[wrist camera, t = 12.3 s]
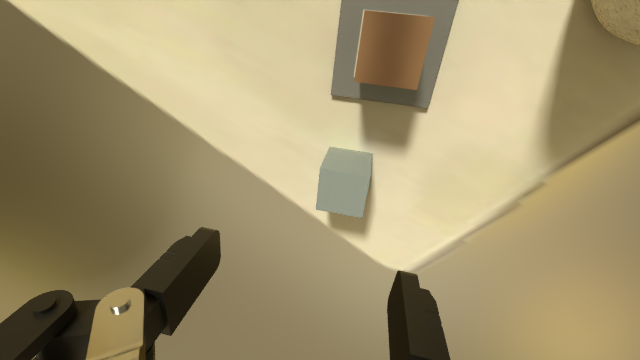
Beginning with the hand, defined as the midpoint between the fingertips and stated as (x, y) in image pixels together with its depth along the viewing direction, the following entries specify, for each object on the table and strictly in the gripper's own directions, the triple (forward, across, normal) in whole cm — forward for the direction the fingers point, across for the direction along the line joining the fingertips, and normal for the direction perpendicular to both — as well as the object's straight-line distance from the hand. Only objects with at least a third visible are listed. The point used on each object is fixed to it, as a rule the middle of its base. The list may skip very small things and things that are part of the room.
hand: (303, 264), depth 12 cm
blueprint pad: (+21, -3, -9) cm, 23 cm away
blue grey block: (+22, -1, +5) cm, 22 cm away
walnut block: (+21, -3, -9) cm, 23 cm away
